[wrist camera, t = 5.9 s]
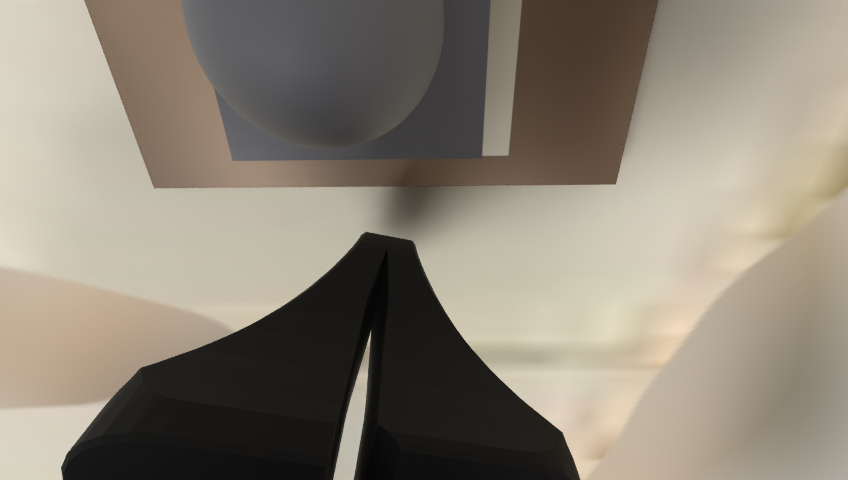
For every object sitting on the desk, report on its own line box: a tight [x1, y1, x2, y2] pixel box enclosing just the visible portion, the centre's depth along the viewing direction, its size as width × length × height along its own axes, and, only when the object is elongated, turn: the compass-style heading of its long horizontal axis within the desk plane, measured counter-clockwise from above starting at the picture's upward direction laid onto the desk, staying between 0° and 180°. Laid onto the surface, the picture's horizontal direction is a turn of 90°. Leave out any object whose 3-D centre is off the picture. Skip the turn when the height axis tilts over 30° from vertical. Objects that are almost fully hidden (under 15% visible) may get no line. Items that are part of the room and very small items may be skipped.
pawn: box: [182, 0, 491, 161], centre depth 6 cm, size 4×4×6 cm
